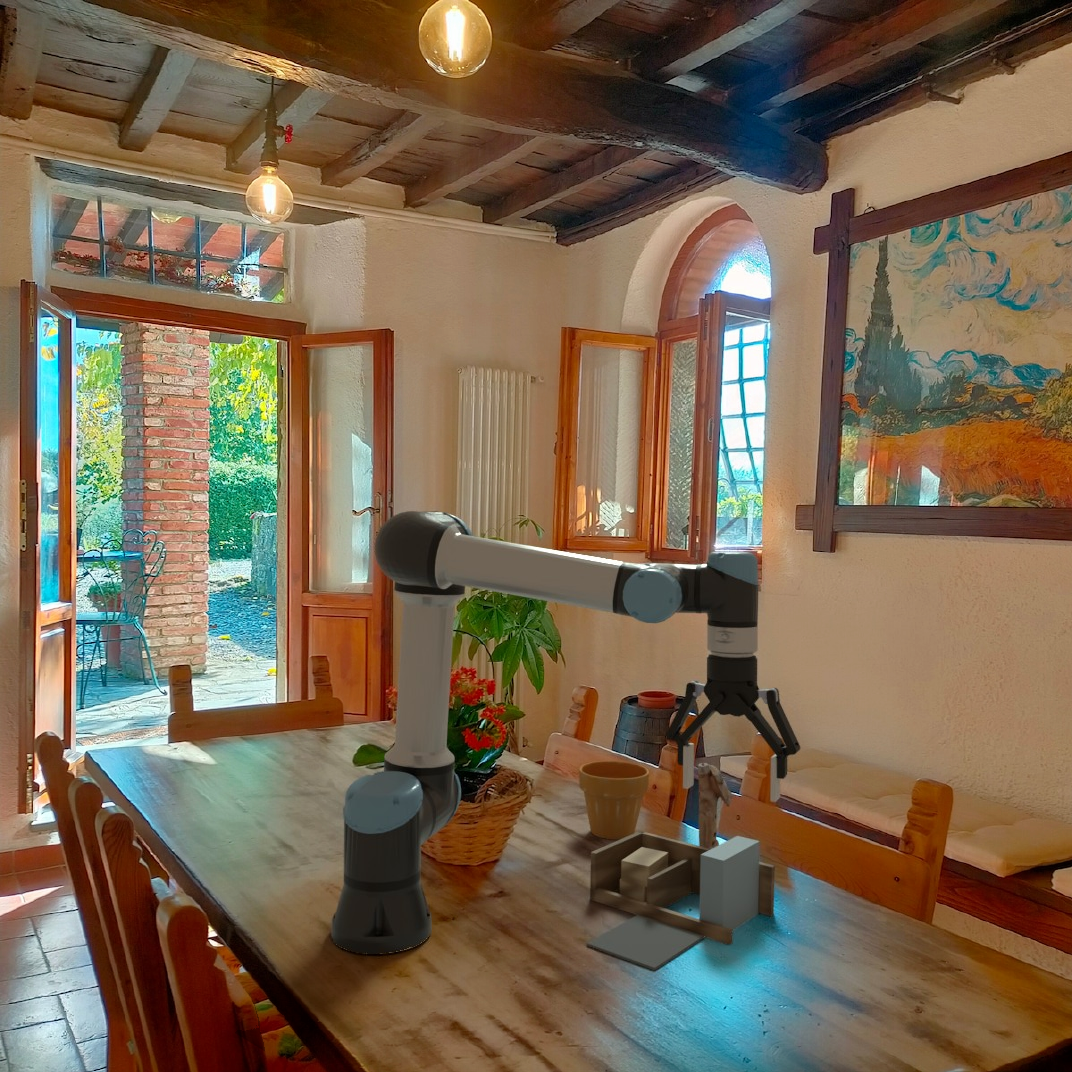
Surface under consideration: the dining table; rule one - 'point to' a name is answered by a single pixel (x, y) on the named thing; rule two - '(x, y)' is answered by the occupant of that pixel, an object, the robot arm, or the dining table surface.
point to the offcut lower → (633, 891)
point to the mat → (645, 941)
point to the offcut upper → (643, 865)
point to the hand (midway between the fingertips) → (730, 793)
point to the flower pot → (613, 796)
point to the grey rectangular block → (730, 883)
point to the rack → (666, 883)
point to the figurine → (710, 803)
